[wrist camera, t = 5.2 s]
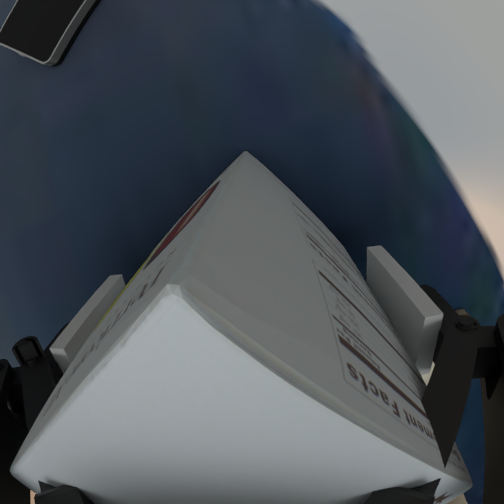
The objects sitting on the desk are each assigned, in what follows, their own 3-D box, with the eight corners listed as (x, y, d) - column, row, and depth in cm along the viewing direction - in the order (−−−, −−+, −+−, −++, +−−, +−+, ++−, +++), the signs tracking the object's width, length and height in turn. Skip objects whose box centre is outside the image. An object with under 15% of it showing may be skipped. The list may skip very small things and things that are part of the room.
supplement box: (245, 145, 18) (184, 240, 2) (349, 248, 20) (491, 480, 5) (146, 256, 21) (0, 476, 5) (247, 338, 23) (239, 575, 7)
